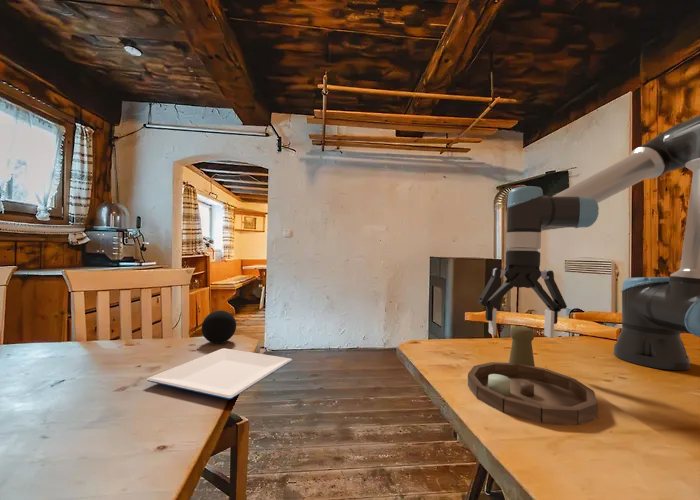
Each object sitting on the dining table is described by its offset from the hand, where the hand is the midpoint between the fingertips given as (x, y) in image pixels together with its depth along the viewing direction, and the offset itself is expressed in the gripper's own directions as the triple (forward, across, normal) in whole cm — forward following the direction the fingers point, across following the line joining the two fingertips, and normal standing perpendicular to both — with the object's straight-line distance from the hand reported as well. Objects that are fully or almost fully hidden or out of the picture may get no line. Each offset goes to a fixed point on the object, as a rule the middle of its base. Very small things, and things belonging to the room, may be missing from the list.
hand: (520, 335), depth 76 cm
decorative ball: (+11, +84, -14) cm, 86 cm away
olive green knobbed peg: (+9, -1, 0) cm, 9 cm away
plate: (+11, +70, +10) cm, 72 cm away
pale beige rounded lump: (+8, +11, +15) cm, 20 cm away
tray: (+9, +5, +15) cm, 18 cm away
